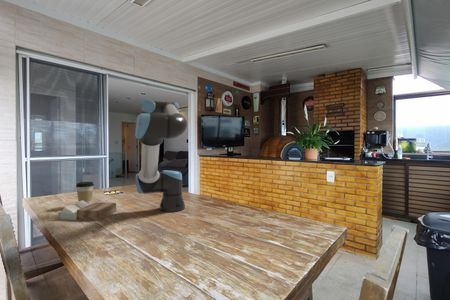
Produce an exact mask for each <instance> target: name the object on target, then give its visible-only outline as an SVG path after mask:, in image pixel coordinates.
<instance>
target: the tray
mask: <svg viewBox="0 0 450 300" xmlns="http://www.w3.org/2000/svg"><path fill="white" fill-rule="evenodd" d="M57 214H58V217H57V218H58V219H57V220H61V221H62V220H64V221H65V220H67V221H68V220H69V221H77V213H66V212H62V211H60V212H58V213H57Z"/></svg>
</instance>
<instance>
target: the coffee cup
mask: <svg viewBox="0 0 450 300" xmlns="http://www.w3.org/2000/svg"><path fill="white" fill-rule="evenodd" d="M94 186H95V184H94V182H93V181H80V182H77V183H76V185H75V188H76V193H77V199H78V201H77V202H79V201H82V200H83V201H85V202H86V203H87V204H89V205H92V200H93V195H94V193H93V192H94Z"/></svg>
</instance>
